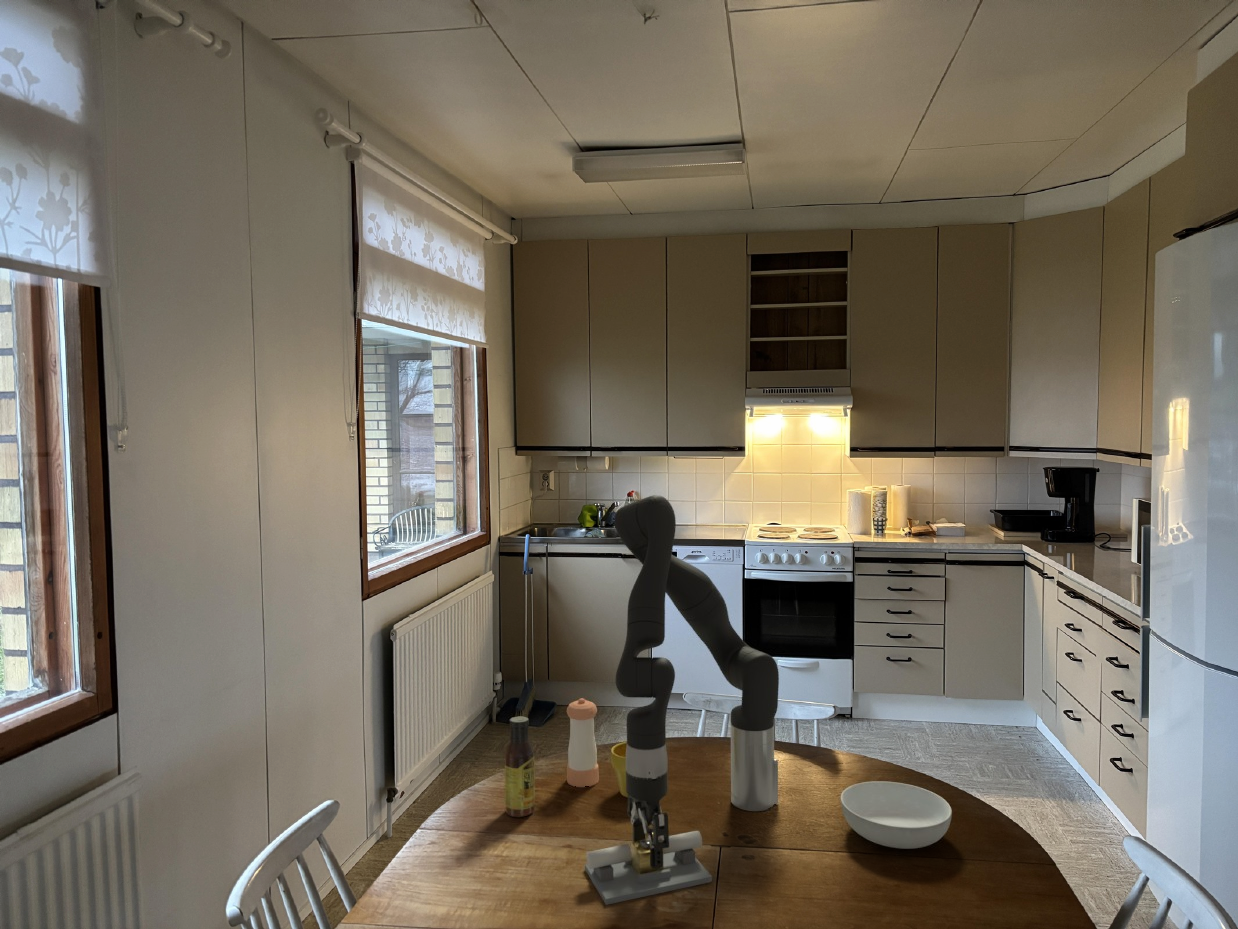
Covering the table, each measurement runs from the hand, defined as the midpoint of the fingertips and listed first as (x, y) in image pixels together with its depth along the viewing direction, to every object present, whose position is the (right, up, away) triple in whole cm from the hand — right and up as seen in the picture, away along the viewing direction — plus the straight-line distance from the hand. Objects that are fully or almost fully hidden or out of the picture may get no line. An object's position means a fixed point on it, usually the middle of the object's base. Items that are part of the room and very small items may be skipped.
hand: (647, 855), depth 148 cm
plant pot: (-2, -3, +35) cm, 35 cm away
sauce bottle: (-26, -3, +26) cm, 37 cm away
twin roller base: (0, -4, 0) cm, 4 cm away
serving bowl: (+49, -3, +14) cm, 51 cm away
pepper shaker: (-14, -3, +41) cm, 43 cm away
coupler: (0, -3, 0) cm, 3 cm away
